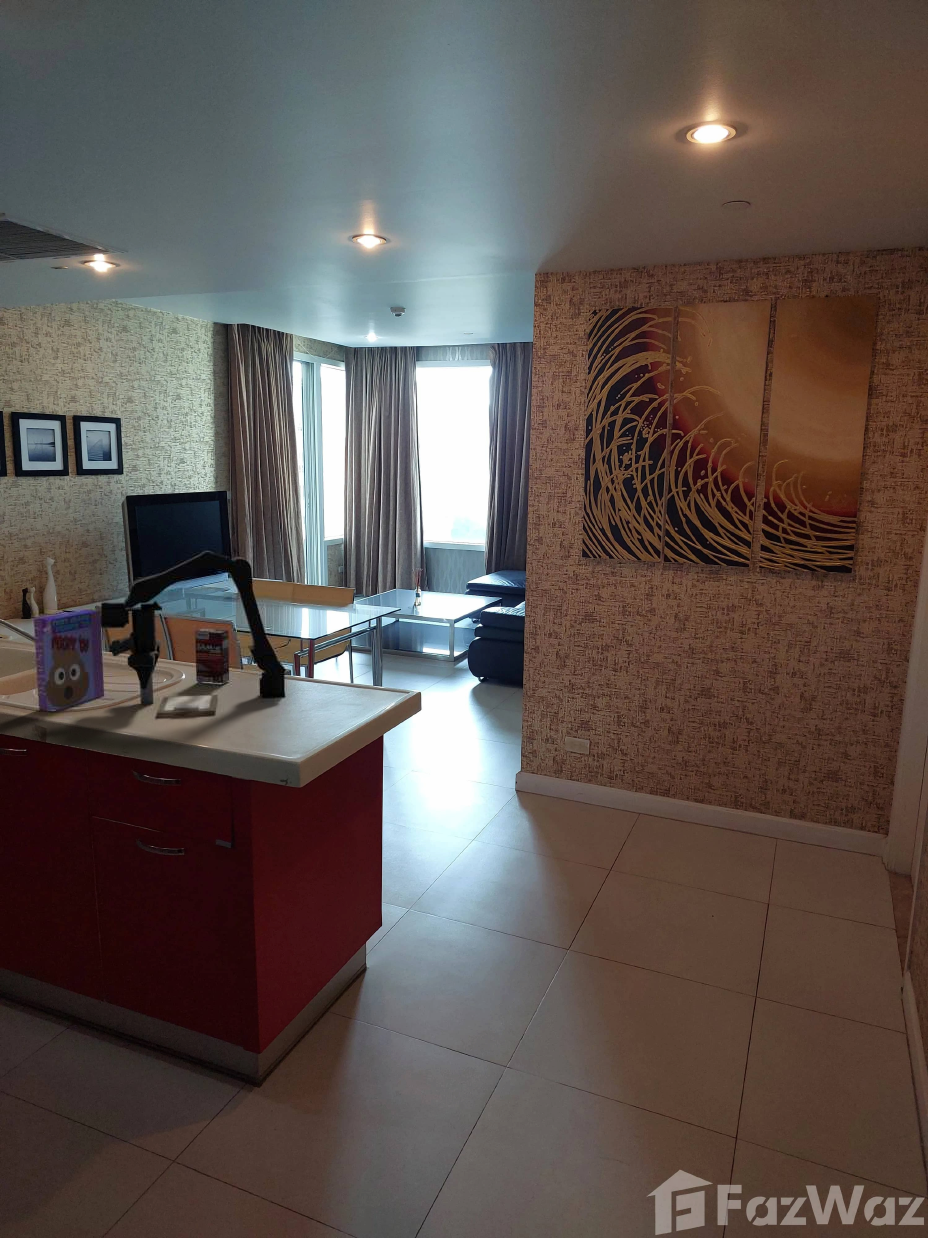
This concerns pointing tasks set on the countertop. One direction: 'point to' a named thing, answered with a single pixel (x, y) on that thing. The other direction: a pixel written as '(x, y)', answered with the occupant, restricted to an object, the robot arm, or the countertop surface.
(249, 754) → the countertop surface
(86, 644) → the cereal box
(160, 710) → the clipboard
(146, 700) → the marker
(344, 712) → the countertop surface
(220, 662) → the supplement box
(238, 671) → the countertop surface
